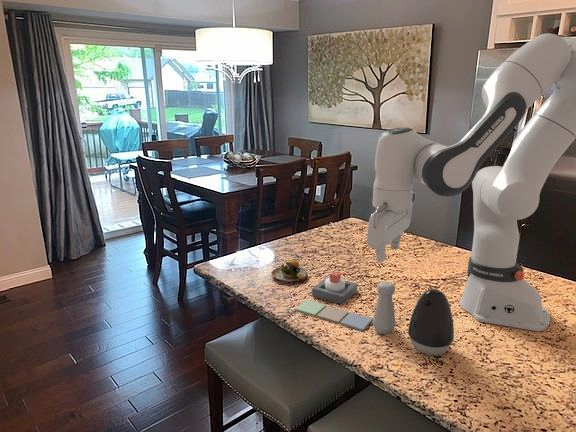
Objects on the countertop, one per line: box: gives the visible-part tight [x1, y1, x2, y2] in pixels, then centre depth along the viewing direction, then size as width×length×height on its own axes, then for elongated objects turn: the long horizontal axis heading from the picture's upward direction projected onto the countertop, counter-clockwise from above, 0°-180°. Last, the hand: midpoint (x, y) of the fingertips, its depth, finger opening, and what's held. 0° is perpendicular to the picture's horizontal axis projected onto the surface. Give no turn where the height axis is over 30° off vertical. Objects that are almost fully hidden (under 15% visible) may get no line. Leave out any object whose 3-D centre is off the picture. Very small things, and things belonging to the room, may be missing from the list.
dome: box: [324, 270, 346, 293], centre depth 130 cm, size 6×6×6 cm
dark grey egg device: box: [407, 288, 455, 356], centre depth 101 cm, size 10×10×15 cm
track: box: [294, 298, 373, 332], centre depth 118 cm, size 20×6×1 cm, turn 57°
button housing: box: [311, 276, 358, 305], centre depth 131 cm, size 10×10×2 cm
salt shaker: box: [371, 281, 397, 336], centre depth 109 cm, size 6×6×13 cm
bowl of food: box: [271, 255, 309, 284], centre depth 142 cm, size 12×12×8 cm
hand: (388, 254), depth 105 cm, fingers open, 8 cm apart
